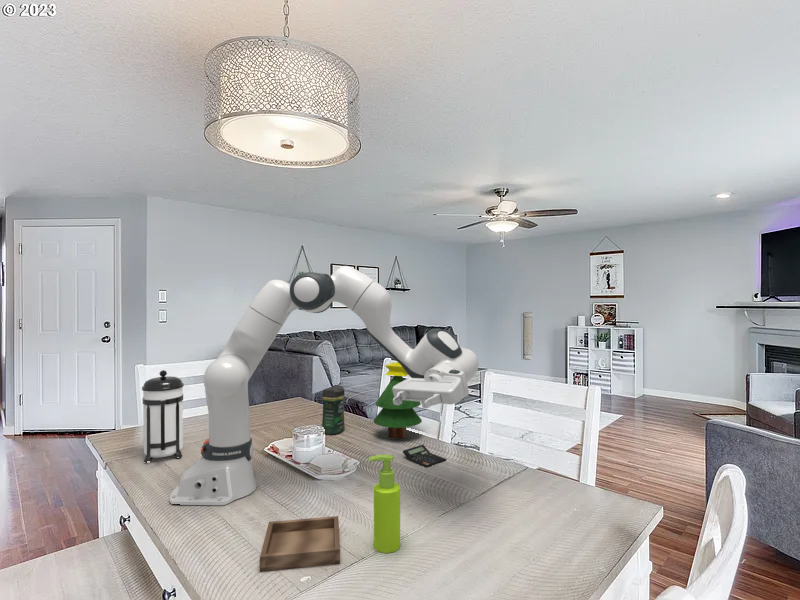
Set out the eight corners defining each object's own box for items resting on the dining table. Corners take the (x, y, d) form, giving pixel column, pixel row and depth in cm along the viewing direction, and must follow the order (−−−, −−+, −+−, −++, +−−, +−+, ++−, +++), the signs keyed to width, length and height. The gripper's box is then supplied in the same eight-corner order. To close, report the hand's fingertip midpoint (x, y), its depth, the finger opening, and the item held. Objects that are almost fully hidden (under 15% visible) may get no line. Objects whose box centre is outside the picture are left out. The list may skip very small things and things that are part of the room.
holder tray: (259, 571, 88) (259, 557, 88) (269, 534, 102) (268, 521, 102) (340, 563, 91) (340, 549, 91) (338, 528, 104) (338, 515, 104)
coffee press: (125, 462, 147) (124, 373, 147) (166, 446, 162) (166, 365, 162) (162, 469, 141) (162, 376, 140) (202, 453, 155) (201, 368, 155)
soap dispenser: (368, 539, 100) (368, 451, 100) (399, 537, 100) (398, 450, 100) (369, 554, 94) (369, 461, 94) (401, 552, 95) (401, 460, 94)
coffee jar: (336, 436, 174) (336, 389, 173) (319, 434, 176) (318, 388, 176) (347, 429, 183) (347, 385, 182) (331, 427, 185) (331, 383, 185)
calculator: (426, 468, 141) (426, 459, 141) (402, 458, 150) (402, 450, 150) (446, 461, 148) (446, 452, 148) (422, 452, 156) (422, 444, 156)
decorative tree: (365, 440, 168) (364, 362, 168) (385, 426, 186) (384, 356, 186) (412, 446, 161) (411, 365, 161) (428, 431, 179) (428, 358, 179)
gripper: (408, 370, 125) (376, 389, 115) (469, 371, 112) (438, 394, 102) (413, 390, 126) (382, 412, 116) (474, 394, 113) (444, 419, 103)
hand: (409, 403), depth 109 cm, fingers open, 8 cm apart
